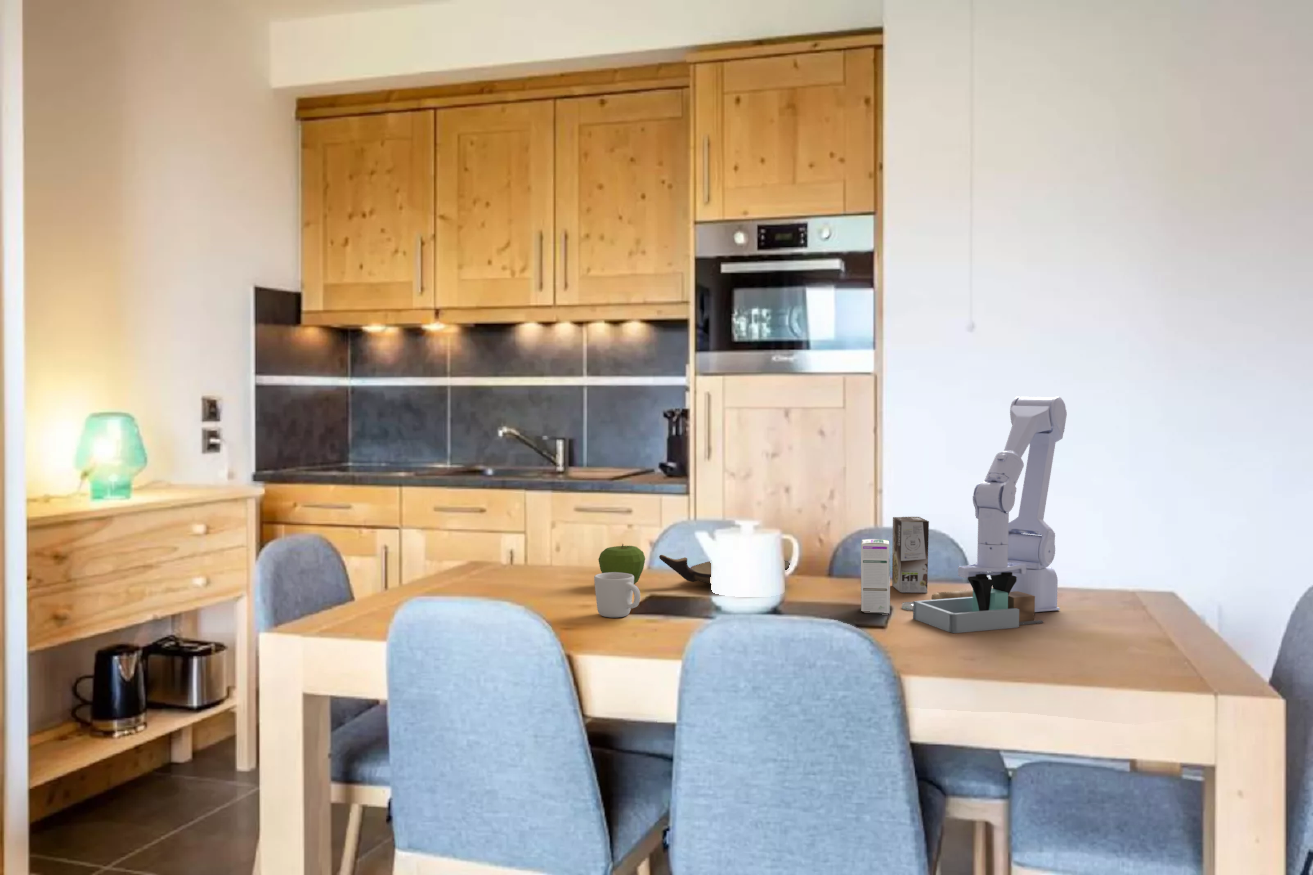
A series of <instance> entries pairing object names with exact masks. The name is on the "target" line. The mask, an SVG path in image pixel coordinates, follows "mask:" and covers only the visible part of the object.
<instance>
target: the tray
mask: <svg viewBox="0 0 1313 875" xmlns="http://www.w3.org/2000/svg"><path fill="white" fill-rule="evenodd" d="M912 602H913V611H912V619H913V620H915V621H918V622H921V623H924V624H926V625H929V626H932V627H934V628H937V629H940V630H942V631H946V632H949V633H951V634H959V633H970V632H972V633H973V632H981V631H982V632H983V631H992V630H993V631H994V630H1004V629H1016V628H1020V625H1019V609H1017V608H1012V609H1000V610H988V611H975V612H972V607H973V597H962V598H949V599H936V600H932V599H925V600H924V599H923V600H913V601H912Z"/></svg>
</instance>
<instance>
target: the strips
mask: <svg viewBox="0 0 1313 875" xmlns="http://www.w3.org/2000/svg"><path fill="white" fill-rule="evenodd" d="M1036 623H1037V624H1043V623H1044V620H1041V619H1037V620H1036V619H1035V620H1034V621H1024V622H1019V626H1024V625H1035V624H1036Z"/></svg>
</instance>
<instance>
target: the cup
mask: <svg viewBox="0 0 1313 875" xmlns="http://www.w3.org/2000/svg"><path fill="white" fill-rule="evenodd" d="M593 580H594V592H595V600H596V602H595V603H596V608H597V609H596V610H597V612H598V615H600V616H602V617H605V618H611V619H612V618H613V619H615V618H623V617H627V616H629V614H630V612H631V610H632V609H634V608H635V609H636V608H637V607H638V606H639V605H640V601H641V591H640V589H639V587H638V586H637V585H636V584H634V576H633V575H632V574H628V573H618V572H611V573H602V572H601V573H598V574H595V575H594V578H593ZM633 595H634V597H633Z"/></svg>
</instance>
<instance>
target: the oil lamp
mask: <svg viewBox="0 0 1313 875" xmlns="http://www.w3.org/2000/svg"><path fill="white" fill-rule="evenodd" d="M658 557H659V558H658V559H660V561H662V562H663V563H664V564H666V565H667V566H668V568H670V569H672V570H673V571H675V572H676V573H677V574H678V575H679V576H681V577H682V578H683V579H684V580H685V581H688V582H692V583H694V582H703V583H705V584H709V583H710V577H711V563H710V561H711V560H710V561H709V560H708V561H705V562H701V563H697V564H695V565H692V566H691V567H689V565H688V558H687V557H682V558H676V559H675V558H671V557H668V556H667V555H665V554H659V556H658ZM784 561H785V570H787V569H788V568H789V565H790V563H791V562H789V560H784ZM709 585H710V584H709Z"/></svg>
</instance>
